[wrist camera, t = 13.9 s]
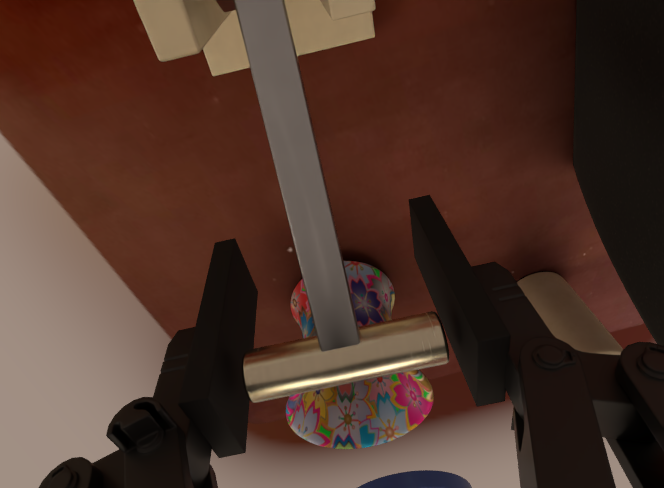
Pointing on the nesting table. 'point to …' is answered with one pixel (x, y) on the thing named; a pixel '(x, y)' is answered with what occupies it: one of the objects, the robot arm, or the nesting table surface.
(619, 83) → the flower pot
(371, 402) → the mug
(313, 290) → the lever
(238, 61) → the bracket
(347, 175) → the nesting table surface
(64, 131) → the nesting table surface
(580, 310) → the candle
